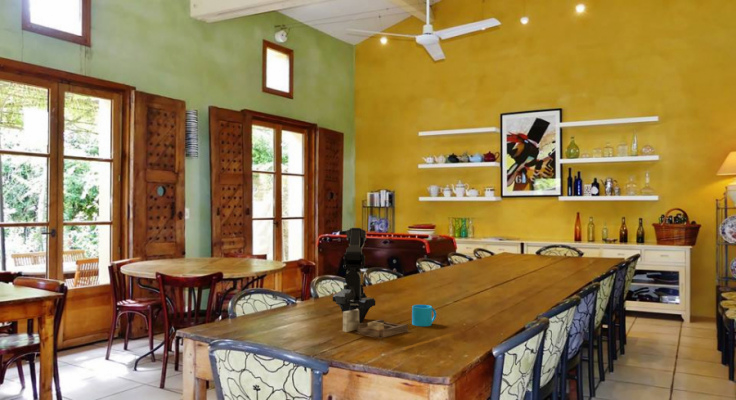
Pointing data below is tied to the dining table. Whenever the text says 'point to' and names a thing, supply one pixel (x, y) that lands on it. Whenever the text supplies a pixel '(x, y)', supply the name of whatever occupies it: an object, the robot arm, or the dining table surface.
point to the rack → (388, 330)
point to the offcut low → (375, 330)
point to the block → (350, 320)
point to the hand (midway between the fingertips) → (353, 321)
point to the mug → (422, 315)
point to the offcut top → (375, 325)
